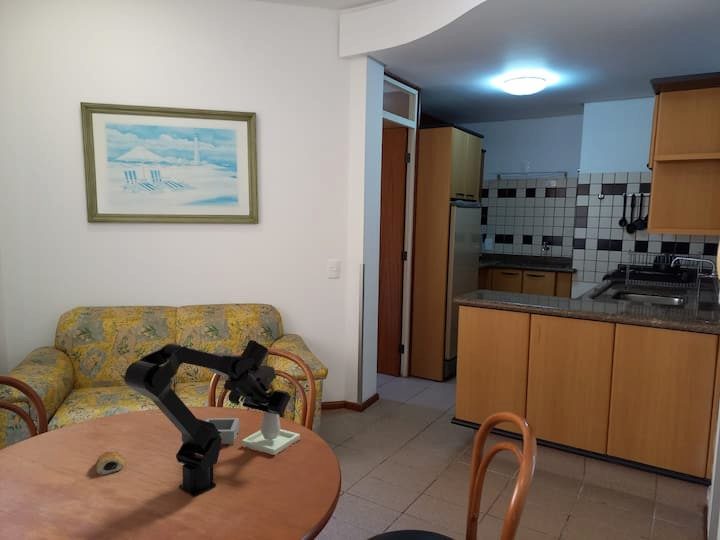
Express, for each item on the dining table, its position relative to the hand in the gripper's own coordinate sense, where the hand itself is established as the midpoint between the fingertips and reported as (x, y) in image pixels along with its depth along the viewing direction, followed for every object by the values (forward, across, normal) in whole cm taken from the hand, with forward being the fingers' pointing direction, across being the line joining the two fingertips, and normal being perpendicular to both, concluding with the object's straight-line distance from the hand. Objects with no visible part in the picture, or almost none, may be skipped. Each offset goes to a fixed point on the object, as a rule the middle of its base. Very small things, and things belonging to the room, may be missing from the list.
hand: (271, 411), depth 143 cm
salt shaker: (+5, 0, +6) cm, 8 cm away
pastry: (-16, +27, +31) cm, 44 cm away
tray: (+7, 0, +7) cm, 10 cm away
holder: (+3, +16, +10) cm, 19 cm away
